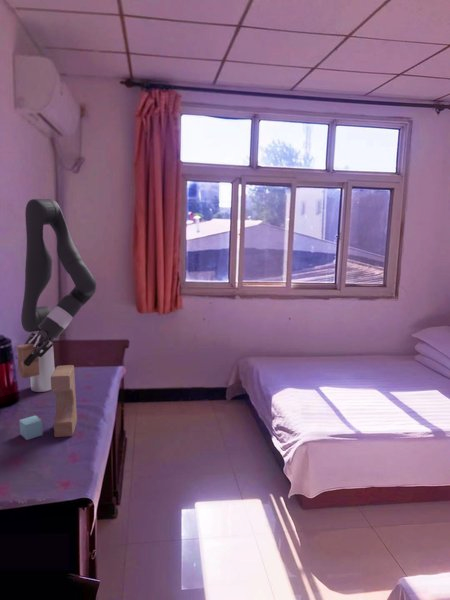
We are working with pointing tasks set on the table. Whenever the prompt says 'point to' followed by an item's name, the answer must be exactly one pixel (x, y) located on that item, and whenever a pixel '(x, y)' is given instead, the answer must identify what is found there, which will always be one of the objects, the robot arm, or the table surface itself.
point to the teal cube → (31, 427)
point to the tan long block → (23, 353)
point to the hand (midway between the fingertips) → (22, 362)
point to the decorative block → (64, 400)
